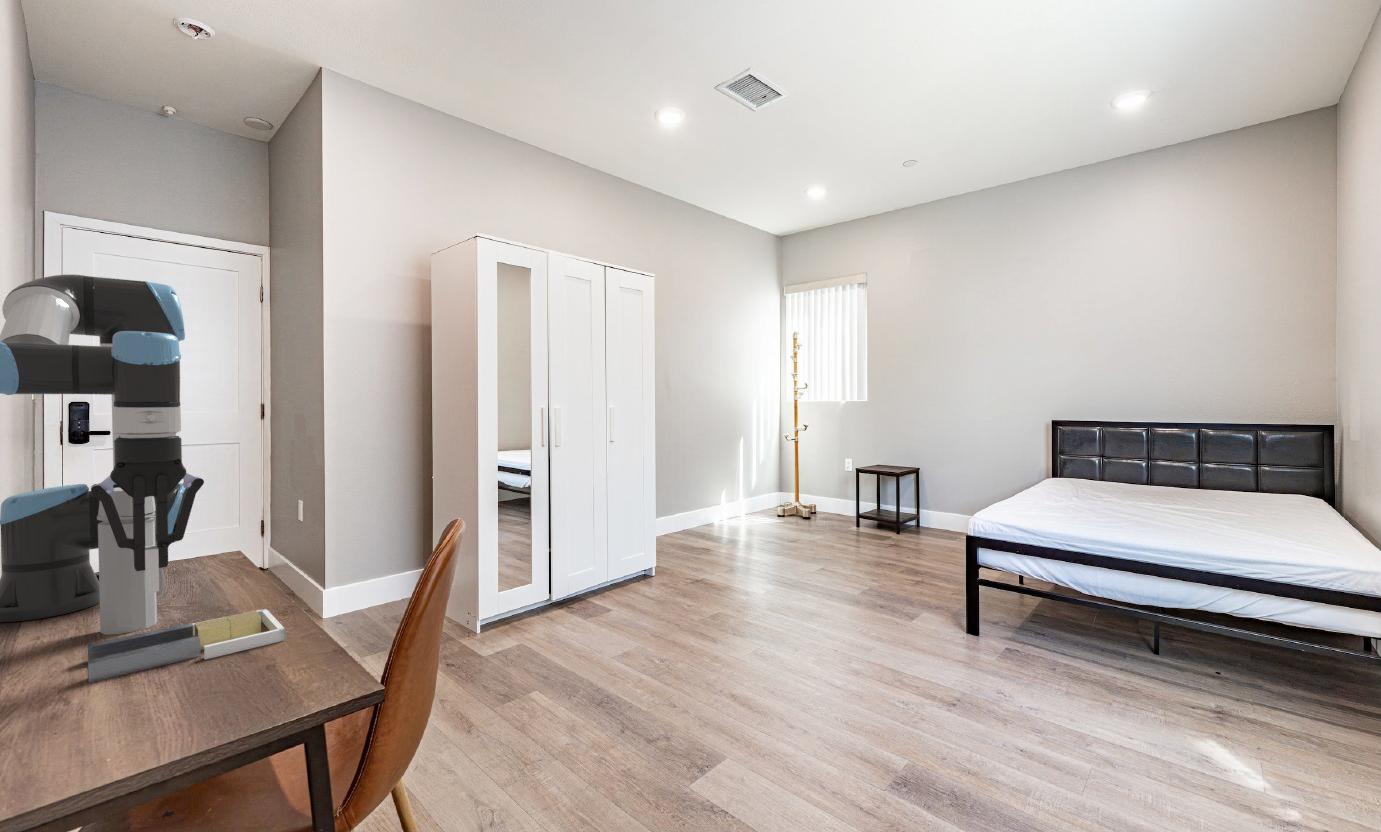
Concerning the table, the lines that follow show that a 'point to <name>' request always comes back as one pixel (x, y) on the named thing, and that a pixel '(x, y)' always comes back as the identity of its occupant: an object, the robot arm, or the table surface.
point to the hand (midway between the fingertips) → (151, 589)
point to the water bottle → (125, 571)
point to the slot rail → (141, 651)
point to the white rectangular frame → (247, 638)
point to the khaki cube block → (244, 624)
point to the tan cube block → (212, 631)
